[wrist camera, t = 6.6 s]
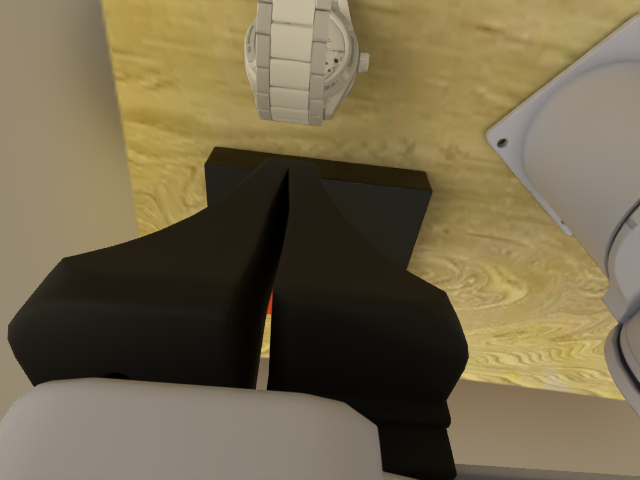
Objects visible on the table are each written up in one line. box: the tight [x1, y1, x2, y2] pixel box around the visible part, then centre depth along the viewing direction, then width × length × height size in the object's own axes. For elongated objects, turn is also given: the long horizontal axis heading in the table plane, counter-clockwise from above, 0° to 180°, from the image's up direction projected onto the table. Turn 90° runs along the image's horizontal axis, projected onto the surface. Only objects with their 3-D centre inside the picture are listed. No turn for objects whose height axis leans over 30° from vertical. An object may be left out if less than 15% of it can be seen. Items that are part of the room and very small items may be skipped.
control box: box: [204, 147, 432, 269], centre depth 23 cm, size 12×10×4 cm
